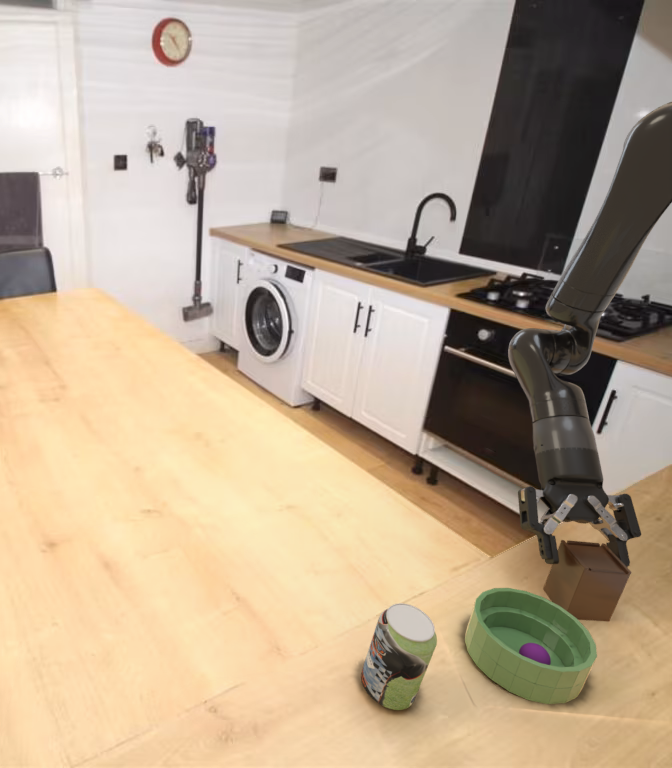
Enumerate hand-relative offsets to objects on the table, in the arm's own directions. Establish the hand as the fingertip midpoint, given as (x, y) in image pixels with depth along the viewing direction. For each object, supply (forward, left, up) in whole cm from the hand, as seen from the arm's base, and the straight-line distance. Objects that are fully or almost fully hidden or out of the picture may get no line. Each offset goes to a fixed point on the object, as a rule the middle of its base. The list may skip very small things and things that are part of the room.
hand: (585, 567), depth 74 cm
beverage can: (+32, +13, -7) cm, 35 cm away
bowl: (+14, +9, -6) cm, 18 cm away
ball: (+13, +10, -4) cm, 17 cm away
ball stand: (0, +1, -6) cm, 6 cm away
